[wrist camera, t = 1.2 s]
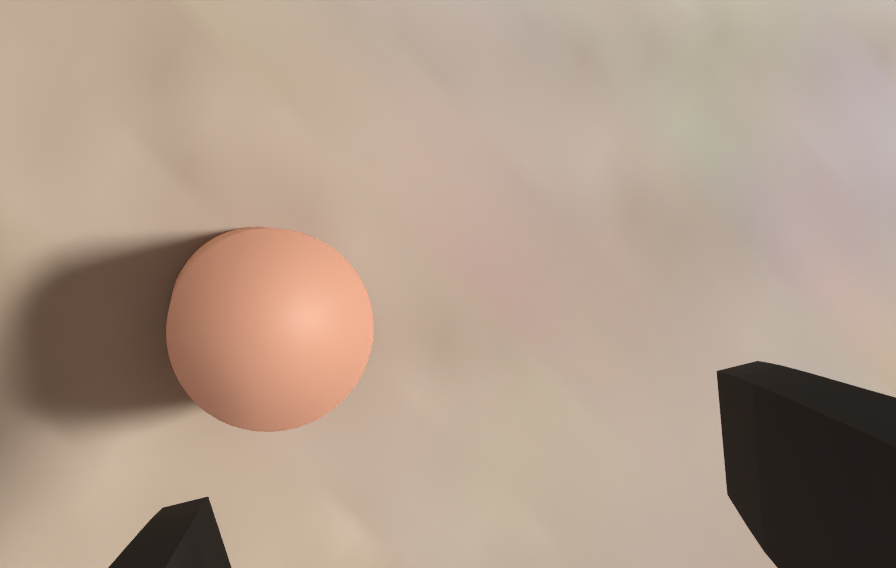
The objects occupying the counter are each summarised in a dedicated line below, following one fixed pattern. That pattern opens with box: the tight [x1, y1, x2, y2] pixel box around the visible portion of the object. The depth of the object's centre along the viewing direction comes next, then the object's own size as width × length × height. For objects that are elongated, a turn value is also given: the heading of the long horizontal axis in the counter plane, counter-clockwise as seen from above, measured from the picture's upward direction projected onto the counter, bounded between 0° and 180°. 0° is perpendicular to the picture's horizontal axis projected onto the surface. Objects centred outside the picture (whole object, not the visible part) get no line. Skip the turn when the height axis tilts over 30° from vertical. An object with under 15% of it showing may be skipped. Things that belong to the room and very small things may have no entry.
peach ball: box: [166, 227, 374, 432], centre depth 20 cm, size 4×4×4 cm
